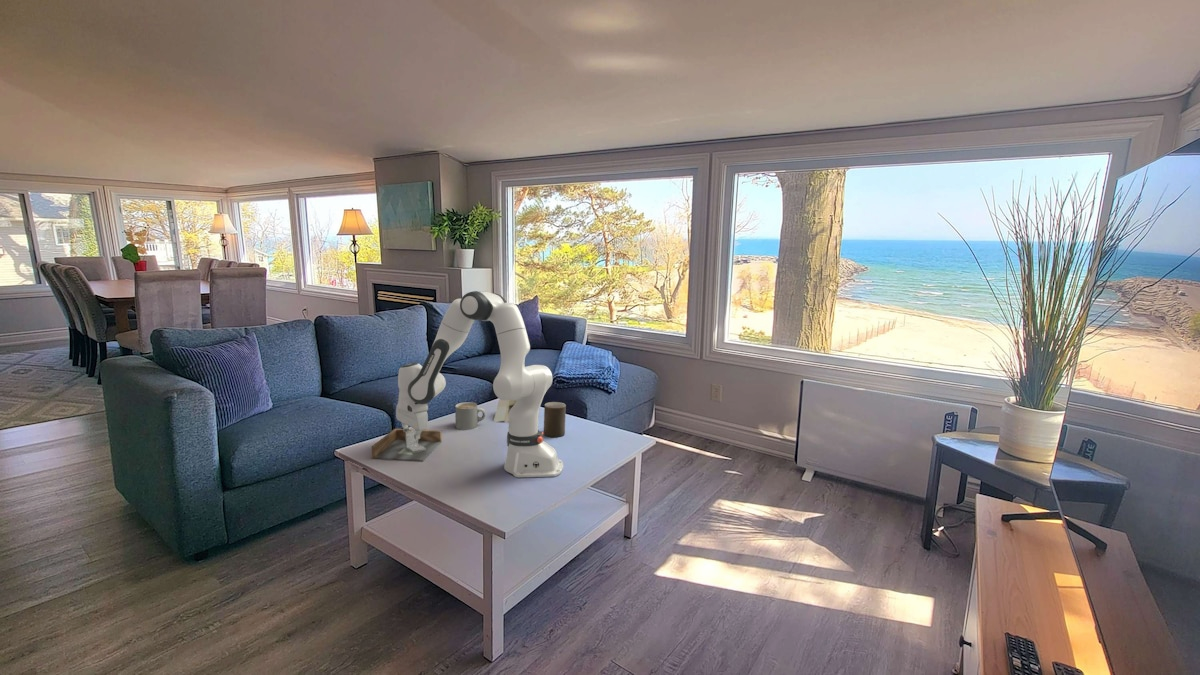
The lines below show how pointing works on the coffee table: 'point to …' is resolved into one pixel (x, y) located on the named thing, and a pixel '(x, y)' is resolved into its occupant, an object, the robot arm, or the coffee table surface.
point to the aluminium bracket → (412, 442)
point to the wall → (503, 410)
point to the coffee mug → (467, 415)
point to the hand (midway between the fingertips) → (411, 435)
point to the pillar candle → (554, 419)
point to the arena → (396, 450)
